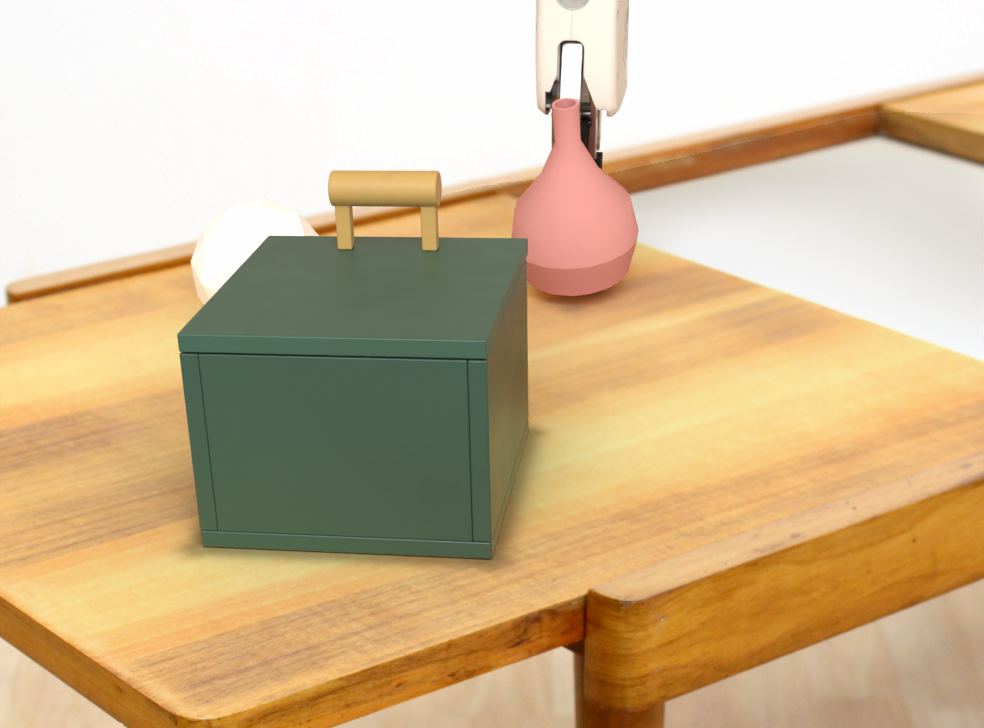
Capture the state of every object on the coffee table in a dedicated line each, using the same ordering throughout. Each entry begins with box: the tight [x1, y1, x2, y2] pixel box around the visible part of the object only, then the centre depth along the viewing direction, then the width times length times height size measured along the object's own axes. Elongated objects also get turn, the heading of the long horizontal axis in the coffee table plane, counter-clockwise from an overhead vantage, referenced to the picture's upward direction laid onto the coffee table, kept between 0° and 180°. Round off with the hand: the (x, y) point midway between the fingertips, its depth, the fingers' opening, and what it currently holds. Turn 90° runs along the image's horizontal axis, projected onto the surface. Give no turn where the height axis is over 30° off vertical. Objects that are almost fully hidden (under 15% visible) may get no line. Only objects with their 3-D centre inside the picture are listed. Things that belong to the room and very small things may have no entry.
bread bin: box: [179, 260, 530, 560], centre depth 70 cm, size 14×13×9 cm
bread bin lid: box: [176, 169, 528, 359], centre depth 67 cm, size 14×13×4 cm
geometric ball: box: [190, 198, 320, 306], centre depth 90 cm, size 8×8×8 cm
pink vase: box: [510, 98, 640, 297], centre depth 92 cm, size 8×8×12 cm
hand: (574, 216), depth 99 cm, fingers closed
